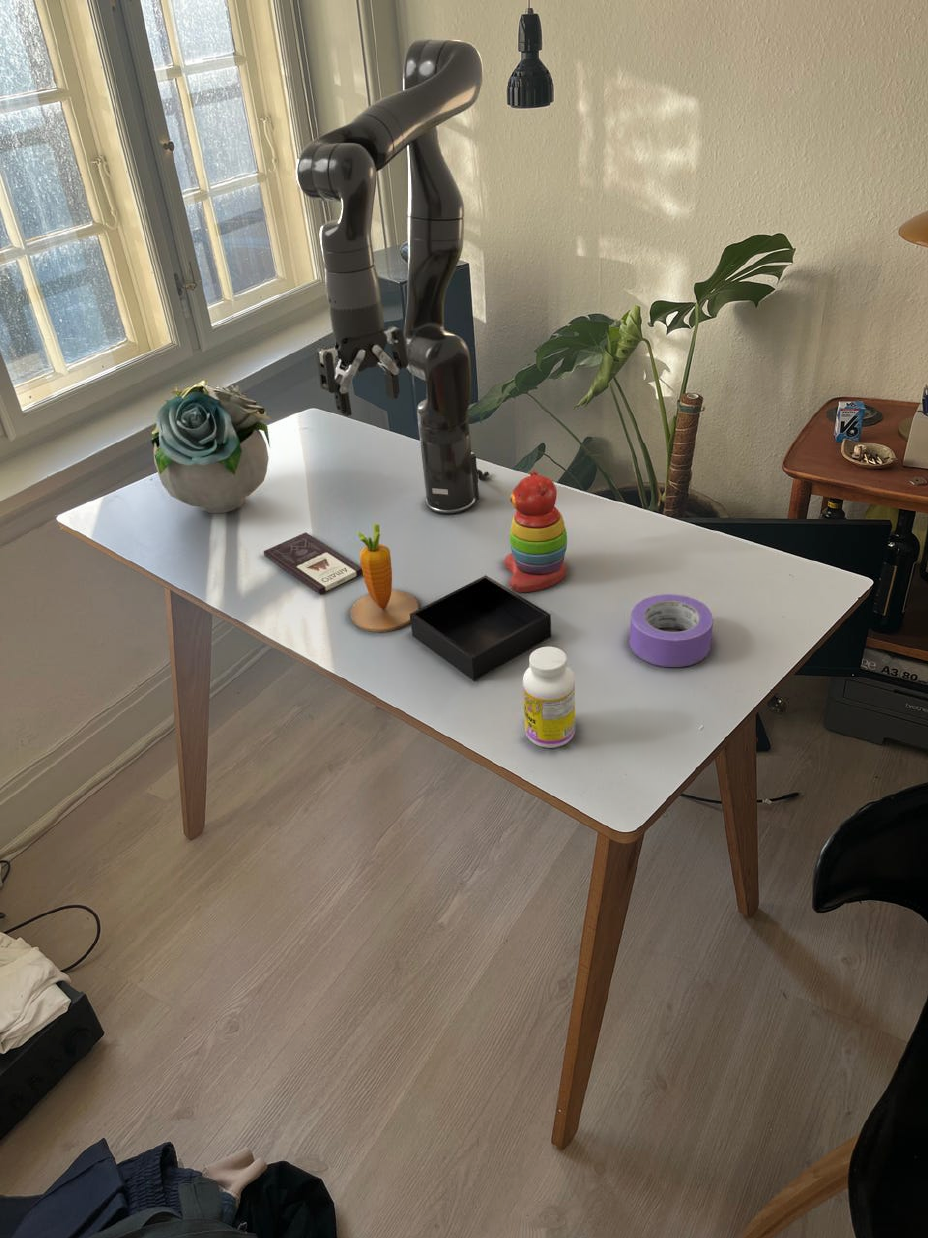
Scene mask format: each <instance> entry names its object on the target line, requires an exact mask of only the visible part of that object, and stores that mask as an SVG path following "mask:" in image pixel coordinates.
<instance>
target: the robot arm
mask: <svg viewBox="0 0 928 1238" xmlns="http://www.w3.org/2000/svg"><path fill="white" fill-rule="evenodd" d="M402 68H403V69H402V90H400V91H398V92H395V93H391V94H389V95H387V96H385V97H383V98H381V99H378V100H377V101H375V102H374V103H372V104H371V105H369V106H368V107H366V109H364V110H363V111H362V112H361V113H359V114H358V115H357V116H356V117H355V118H354V119H352V121H350V122H349V123H347V124H345V125H343V126H341V127H338V128H337V127H336V128H335V129H333V130H331V131H329V132H326V133H324V134H322V135H320V136H318V137H317V138H315V139H313V140H312V141H310V142H309V143H308V144H307V145H305V147H304V148H303V149H302V150H301V152H300V153H299V156H298V158H297V162H296V165H295V176H296V181H297V184H298V186H299V189H300V190H301V191H302V192H303V194H304V195H306V196H307V197H308V198H310V199H311V200H314V201H318V202H330V203H331V202H332V203H341V206H342V207H341V208H342V209H341V214H340V217H339V218H335V219H331V220H329V221H326V222H325V223H323V224H322V226H321V227H320V230H319V241H320V242H319V243H320V248H321V255H322V261H323V267H324V277H325V291H326V299H327V303H328V310H329V317H330V322H331V328H332V333H333V337H334V340H335V343H334V347H332V348H328V349H324V348H318V349H317V350H316V360H317V368H318V377H319V385H320V388H321V389H322V390H324V391H327V392H328V393H330V394H333V395H334V401H335V406H336V410H337V412H338V413H340V414H341V415H343V416H345V417H349V416H352V407H351V400H350V395H349V392H348V390H349V387H350V384H351V382H352V381H353V380H354V379H355V377H356V375H357V372H358V373H361V372H364V371H365V370H366V369H368V368H369V369H370V368H375V367H377V365H379V367H380V368H381V369H382V370H383V371H385V373H383V380H384V385H385V386H384V389H385V394H386V397H387V398H388V399H391V400H393V401H394V400H397V399H398V398H399V394H400V390H401V389H400V382H399V373H400V371H401V370H402V369H407V371H408V372H409V373H410V374H411V375H412V376H414V377H415V378H418V379H419V380H422V381H424V382H425V387H426V398H425V399H423V400H421V401H420V402H419V403H418V405H417V407H416V418H417V425H418V436H419V444H420V451H421V462H422V469H423V470H422V471H423V479H424V489H425V502H426V503H425V504H426V507H427V509H429V511H432V512H434V513H438V514H443V515H445V514H446V515H451V514H458V513H462V512H465V511H467V510H469V509H471V508H472V507H474V505H475V503H476V502H477V501H478V500H479V499H480V493H479V481H483V480H485V479H486V478H487V477H489V476H490V472H488V471H487V470H486V471H485V472H483V471H482V470H481V469H479V468H478V467H477V455H476V454H475V452H473V451H472V445H471V433H470V432H471V431H470V421H469V408H470V405H471V402H472V366H471V365H472V364H471V355H470V351H469V348H468V345H467V343H466V342H465V340H464V339H463V338H462V337H461V336H459V335H457V334H455V333H453V332H451V331H450V332H449V331H448V330H445V321H444V320H445V317H444V316H445V314H444V313H445V297H446V292H447V289H448V287H449V284H450V282H451V279H452V278H453V275H454V273H455V271H456V268H457V267H458V264H459V261H460V258H461V256H462V253H463V248H464V238H465V237H464V236H465V204H464V199H463V195H462V194H461V191H460V188H459V187H458V183H457V181H456V180H455V178H454V176H453V174H452V171H451V170H450V167H449V166H448V164H447V161H446V159H445V157H444V154H443V151H442V149H441V144H440V140H439V134H438V126H439V125H441V124H443V123H444V122H447V121H448V120H449V119H451V118H453V117H455V116H458V115H460V114H461V113H463V112H465V111H467V110H468V109H470V108H471V107H472V106H473V105H474V104H475V103H476V101H477V100H478V98H479V96H480V94H481V91H482V86H483V79H484V68H483V61H482V57H481V55H480V53H479V50H478V49H477V48H476V47H475V46H474V45H473V44H472V43H470V42H468V41H464V40H457V39H435V38H434V39H431V38H422V39H421V38H419V39H415V40H413V41H412V42H411V43H410V44H409V45H408V48H407V49H406V51H405V56H404V60H403V67H402ZM406 148H407V195H408V196H407V214H406V215H407V219H406V221H407V223H406V224H407V228H406V229H407V231H406V233H407V293H406V294H407V295H406V296H407V297H406V310H405V320H404V328H403V329H401V328H399V327H396V326H394V325H390V326H388V327H387V330H384V328H385V320H384V312H383V305H382V295H381V288H380V280H379V275H378V273H377V269H376V264H375V256H374V249H373V248H374V247H373V240H372V225H373V214H374V206H375V197H376V190H377V182H378V181H377V180H378V179H377V172H380V171H381V170H383V169H384V168H385V167H386V166H388V164H390V163H391V162H392V161H393V160H394V159H395V158H396V157H397V156H399V154H400V153H401V152H403V150H405V149H406ZM387 343H388V344H389V347H390V353H391V358H392V359H391V358H390V357H389V355H387V354H386V352H384V350H385V349H386V345H387ZM336 358H338V359H339V361H338V362H337V365H336V367H334V365H335V364H336ZM347 368H348V369H347ZM346 369H347V370H346Z"/></svg>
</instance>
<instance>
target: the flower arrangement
mask: <svg viewBox="0 0 928 1238" xmlns="http://www.w3.org/2000/svg"><path fill="white" fill-rule="evenodd" d="M231 388H232V390H231V389H229V387H228V386H226V385H225V387H224V386H216V387H215V388H213V387H212V386H210V385H208V380H207V378H204V380H201V382H198V383H196V384H193V386H190V387H186V388H184V389H183V390H179V389H178V387H175V390H172V391H170V393H171V394H173V395H174V398H171V399H170V400H168V399H165V400H164V401H165V402H166V403H165V404H164V405H163V406H162V407H160V409H159V410H158V412H157V414H156V417H155V423H156V424H155V425H156V426H155V428H154V430H153V431H152V432H151V435H153V436H152V438H151V440H150V441H151V444H152V446H153V462H154V465H155V468H156V472H157V475H158V477H159V480H160V482H161V485H162V486H163V488H165V490H166V491H167V493H168V494H169V495H170V497H172V498H174V499H175V500H177V501H180V502H181V503H184V504H186V505H188V506H191V507H197V508H198V507H199V508H201V510H203V511H205V512H207V513H209V514H225V513H228V512H233V511H234V510H235V511H236V510H237V509H238V508H241V506H242V505H243V504H244V503H245V501H246V498H248V497H249V496H251V494H252V493H254V492H255V491H256V490H257V489H258V488H259V487H260V485H262V483H263V482H264V481H265V478H266V475H267V472H268V465H269V460H270V459H269V458H270V457H269V453H268V447H269V448H271V445H270V437H269V429H268V425H267V424H264V423H263V422H262V421H261V420H266V421H272V419H271V417H270V416H269V414H268V413H267V412H266V411H265V408H264V407H262V406H260V405H258V404H257V402H256V401H255V400H253V399H251V398H248V397H247V396H246V395H244V394H242V393H243V391H242V389H241V387H240V385H239V384H236V383H235V384H234V385H233V384H231ZM261 431H262V432H263V433H264V436H265V438H264V436H263V435H262V434H263V433H262V432H261ZM265 439H266V441H267V443H266V441H265ZM267 444H268V447H267Z"/></svg>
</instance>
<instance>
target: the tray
mask: <svg viewBox="0 0 928 1238" xmlns="http://www.w3.org/2000/svg"><path fill="white" fill-rule="evenodd" d="M551 618H552V616H551V613H549V612H547V611H545V609H543V608H541V607H539V606H537V605H536V604H534V603H533V602H531V601H529V600H527V599H526V598H525V597H523V596H522V595H520V594H518V593H516V592H514V590H512V589H510V588H508V587H506V586H505V585H504V584H501V583H500V582H498V581H497V580H495V579H493V578H491V577H489V576H488V575H486V574H485V575H484V576H481V577H480V578H477V579H475V580H473V581H471V582H469V583H468V584H465V585H463V586H462V587H460V588H457V589H456V590H454V591H452V592H450V593H448V594H445V595H443V596H442V597H440V598H438V599H436V600H434V601H432V602H430V603H427V604H426V605H424V606H422V607H419V609H418V610H416V611H414V612H413V613H410V621H411V622H410V628H411V635H412V637H413V638H414V639H416V640H417V641H418V642H419V643H421V644H423V645H424V646H425V647H427V648H428V649H429V650H431V652H433V653H435V655H436V654H437V655H438V656H439V657H440V658H441V659H443V660H444V661H446V663H448V664H450V665H451V666H452V667H454V668H455V669H457V670H458V671H459V672H460V673H462V674H463V675H465V676H466V677H468V678H469V679H470V680H471V681H473V682H475V681H477V680H479V679H481V678H482V677H484V676H486V675H487V674H490V673H491V672H493V671H494V670H496V669H498V668H499V667H501V666H503V665H505V664H507V663H508V662H510V661H512V660H513V659H515V658H517V657H519V656H520V655H523V654H524V653H526V652H527V651H529V650H531V649H532V648H534V647H537V646H538V645H539V644H541V643H543V642H545V641H546V640H549V639H550V638H552V619H551Z"/></svg>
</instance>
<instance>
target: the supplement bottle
mask: <svg viewBox="0 0 928 1238" xmlns="http://www.w3.org/2000/svg"><path fill="white" fill-rule="evenodd" d="M528 659H529V662H528V664H529V665H528V668H527V669H526V670H525V671H524V674H523V676H522V691H523V692H522V693H523V711H524V712H523V713H524V714H523V715H524V716H523V718H524V729H525V735H526V737H527V738H528V740H529V741H530V742H531V743H532V744H534V745H536V746H537V747H538V746H539V747H541V748H546V749H547V748H548V749H552V748H554V749H555V748H559V747H562V746H564V745H566V744H567V743H569V742H570V741H571V740H572V739H573V737H574V736H575V733H576V680H575V679H576V678H575V674H574V672H573V670H572V669H571V668H570V667H569V666H568V660H567V659H568V657H567V654H566V653H565V652H564V651H563V650H562V649H561V648H558V647H555V646H543V647H539V648H536V649H534V650H533V651H532V652H531V653H530V655H529V658H528Z"/></svg>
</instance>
